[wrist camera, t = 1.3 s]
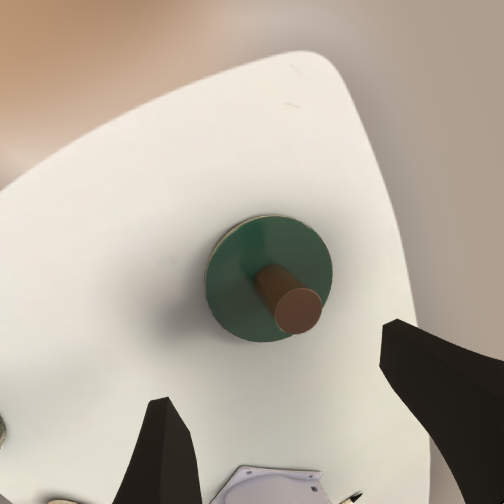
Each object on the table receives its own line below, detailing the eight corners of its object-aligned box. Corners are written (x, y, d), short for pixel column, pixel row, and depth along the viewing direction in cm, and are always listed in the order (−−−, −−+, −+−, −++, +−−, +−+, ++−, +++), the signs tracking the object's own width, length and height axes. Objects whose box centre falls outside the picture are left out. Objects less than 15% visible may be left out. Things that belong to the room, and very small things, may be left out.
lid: (344, 246, 21) (394, 268, 16) (290, 348, 22) (322, 393, 16) (239, 191, 18) (264, 196, 13) (182, 310, 19) (187, 357, 14)
